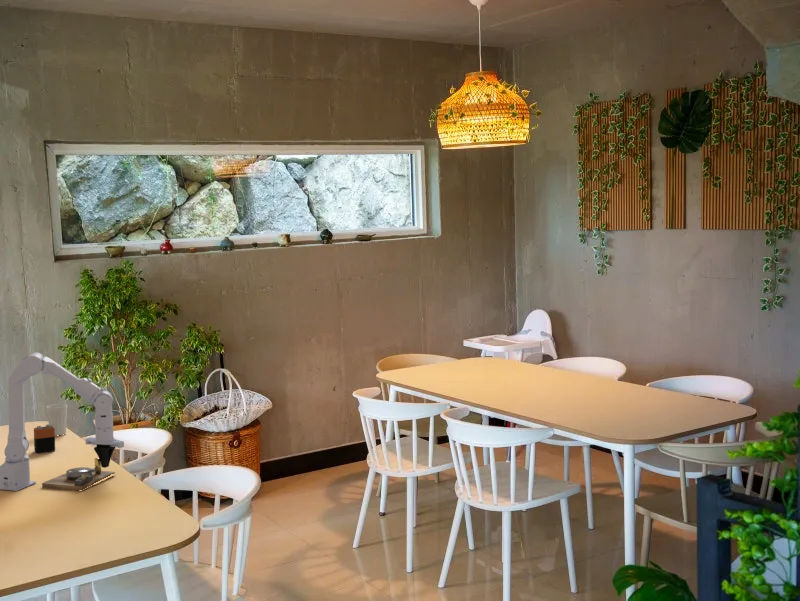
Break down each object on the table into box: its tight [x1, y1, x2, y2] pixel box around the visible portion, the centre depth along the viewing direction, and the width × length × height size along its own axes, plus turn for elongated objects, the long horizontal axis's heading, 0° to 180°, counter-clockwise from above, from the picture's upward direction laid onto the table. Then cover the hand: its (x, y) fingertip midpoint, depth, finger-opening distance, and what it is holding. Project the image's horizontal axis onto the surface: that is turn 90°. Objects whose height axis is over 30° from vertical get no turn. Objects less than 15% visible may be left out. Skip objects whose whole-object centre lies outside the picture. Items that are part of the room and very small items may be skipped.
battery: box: [33, 423, 56, 454], centre depth 327 cm, size 4×7×10 cm, turn 123°
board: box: [41, 470, 116, 491], centre depth 287 cm, size 18×15×4 cm
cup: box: [46, 403, 68, 437], centre depth 353 cm, size 8×8×12 cm
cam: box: [66, 456, 102, 480], centre depth 288 cm, size 12×8×5 cm
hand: (105, 466), depth 290 cm, fingers closed
